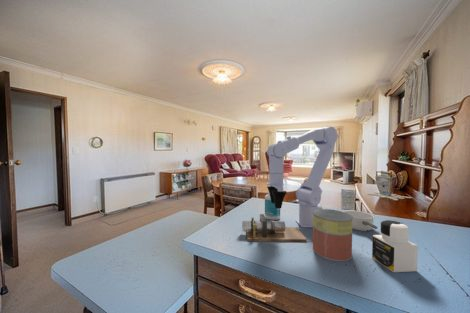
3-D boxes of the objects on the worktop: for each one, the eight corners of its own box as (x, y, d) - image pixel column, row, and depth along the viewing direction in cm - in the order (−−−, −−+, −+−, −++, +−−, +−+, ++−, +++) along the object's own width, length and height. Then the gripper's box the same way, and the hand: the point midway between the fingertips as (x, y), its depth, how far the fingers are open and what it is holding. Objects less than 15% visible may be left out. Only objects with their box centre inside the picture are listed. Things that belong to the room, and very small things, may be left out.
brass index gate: (254, 228, 77) (254, 216, 77) (256, 237, 69) (257, 224, 69) (250, 228, 77) (250, 216, 77) (251, 237, 69) (252, 224, 69)
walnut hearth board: (296, 229, 78) (296, 227, 78) (306, 241, 67) (306, 239, 67) (246, 228, 78) (246, 226, 78) (247, 241, 67) (247, 238, 67)
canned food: (344, 244, 65) (345, 210, 65) (358, 263, 54) (359, 222, 54) (309, 241, 68) (310, 208, 67) (316, 258, 57) (317, 218, 56)
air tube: (282, 230, 75) (282, 218, 75) (285, 235, 71) (285, 222, 71) (242, 229, 75) (242, 218, 75) (242, 234, 71) (242, 222, 71)
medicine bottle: (371, 258, 57) (372, 218, 57) (393, 257, 58) (394, 218, 57) (393, 273, 50) (394, 227, 50) (418, 271, 51) (419, 227, 50)
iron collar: (263, 228, 77) (263, 214, 77) (266, 237, 69) (266, 221, 69) (259, 228, 77) (259, 214, 77) (262, 237, 69) (262, 221, 69)
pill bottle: (280, 221, 88) (280, 192, 87) (264, 220, 89) (264, 191, 89) (279, 215, 95) (280, 189, 95) (264, 214, 96) (265, 188, 96)
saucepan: (357, 240, 69) (357, 225, 68) (338, 221, 88) (338, 209, 88) (393, 244, 66) (394, 228, 66) (366, 223, 86) (366, 211, 86)
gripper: (263, 171, 86) (263, 200, 86) (270, 174, 71) (270, 210, 71) (279, 171, 86) (279, 200, 86) (288, 174, 71) (288, 210, 72)
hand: (276, 205), depth 79 cm, fingers open, 7 cm apart
